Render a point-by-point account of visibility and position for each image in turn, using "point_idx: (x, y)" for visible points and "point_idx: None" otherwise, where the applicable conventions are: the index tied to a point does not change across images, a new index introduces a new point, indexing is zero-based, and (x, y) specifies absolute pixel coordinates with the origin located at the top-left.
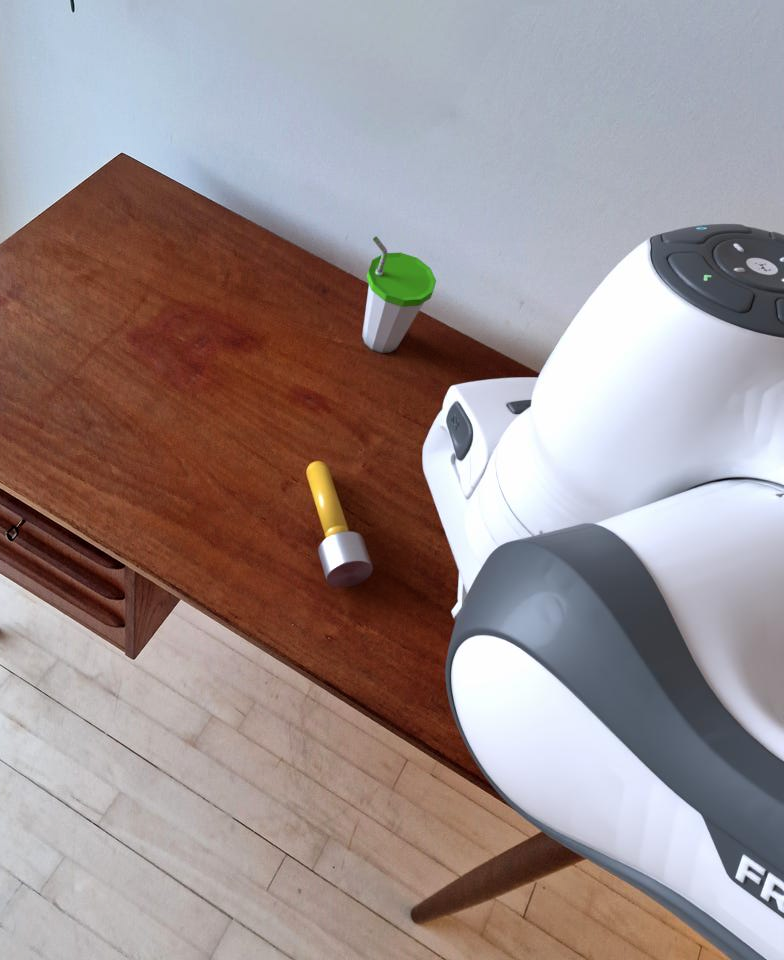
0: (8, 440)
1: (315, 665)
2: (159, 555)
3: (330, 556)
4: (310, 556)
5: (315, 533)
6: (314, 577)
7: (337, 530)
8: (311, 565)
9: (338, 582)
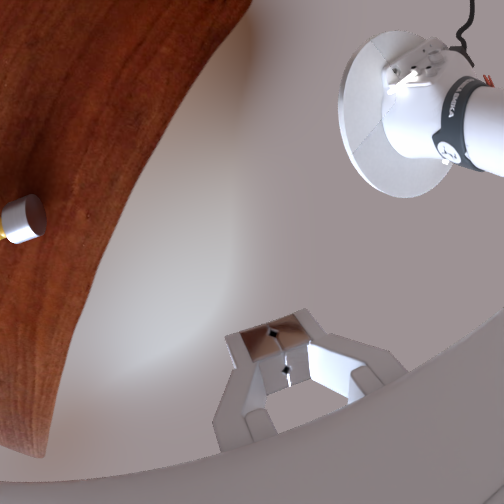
0: (32, 411)
1: (113, 224)
2: (61, 337)
3: (27, 238)
4: None
5: None
6: None
7: (3, 231)
8: None
9: (43, 218)
